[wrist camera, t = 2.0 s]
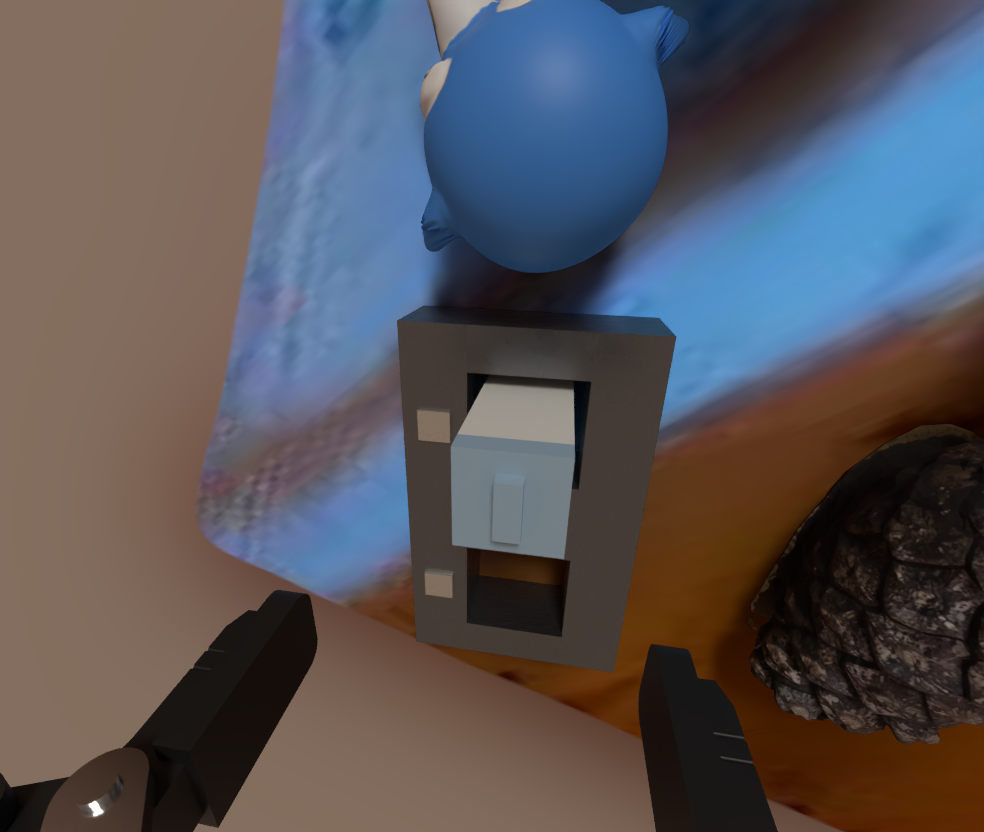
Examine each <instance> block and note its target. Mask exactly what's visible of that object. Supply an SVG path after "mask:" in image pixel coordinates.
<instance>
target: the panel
mask: <svg viewBox="0 0 984 832" xmlns="http://www.w3.org/2000/svg"><path fill="white" fill-rule="evenodd" d="M397 326H398V343H399V359H400V376H401V393H402V409H403V426H404V442H405V459H406V475H407V492H408V508H409V525H410V542H411V558H412V575H413V591H414V608H415V624H416V641H417V642H423V643H430V644H436V645H442V646H449V647H455V648H461V649H468V650H474V651H480V652H487V653H493V654H499V655H506V656H512V657H518V658H525V659H531V660H537V661H544V662H550V663H556V664H563V665H569V666H575V667H582V668H588V669H594V670H601V671H607V672H614V666H615V661H616V656H617V650H618V645H619V640H620V634H621V629H622V624H623V618H624V613H625V608H626V602H627V597H628V592H629V586H630V581H631V576H632V570H633V565H634V560H635V554H636V549H637V544H638V538H639V533H640V528H641V522H642V517H643V512H644V506H645V501H646V496H647V490H648V485H649V480H650V474H651V469H652V464H653V458H654V453H655V448H656V442H657V437H658V432H659V426H660V421H661V416H662V410H663V405H664V400H665V394H666V389H667V384H668V378H669V373H670V368H671V362H672V357H673V352H674V346H675V341H676V336H675V335H674V334H673V333H672V331H671V330H670V329H669V328H668V327H667V326H666V325H665V324H664V323H663V322H662V321H661V320H660V318H649V317H630V316H611V315H592V314H573V313H553V312H534V311H515V310H496V309H477V308H458V307H439V306H422V307H420V308H419V309H417V310H415V311H413V312H412V313H410V314H408V315H406V316H404V317H403V318H401V319H399V320H397ZM482 374H493V375H507V376H521V377H535V378H549V379H563V380H577V381H586V382H585V391H584V400H583V409H582V418H581V427H580V436H579V445H578V452H575V462H574V472H573V481H572V490H571V499H570V508H569V517H568V527H567V536H566V545H565V554H564V559H561V560H566V562H565V571H564V580H563V587H562V586H554V585H547V584H540V583H532V582H525V581H517V580H510V579H502V578H495V577H488V576H480V575H479V554H480V548H472V547H464V546H456V545H452V498H451V445H452V443H453V441H454V439H455V438H456V436H457V434H458V432H459V430H460V428H461V426H462V424H463V423H464V421H465V419H466V417H467V415H468V413H469V411H470V409H471V408H472V406H473V404H474V402H475V400H476V398H477V396H478V395H479V393H480V391H481V389H482ZM482 550H488V549H482ZM490 551H496V550H490ZM498 552H503V551H498ZM505 553H511V552H505ZM513 554H519V553H513ZM521 555H527V554H521ZM529 556H535V555H529ZM537 557H543V556H537ZM545 558H551V557H545ZM553 559H559V558H553Z"/></svg>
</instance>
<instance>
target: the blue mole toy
mask: <svg viewBox="0 0 984 832" xmlns="http://www.w3.org/2000/svg"><path fill="white" fill-rule="evenodd" d="M426 1H427V4H428V8H429V11H430V15H431V19H432V22H433V27H434V31H435V35H436V40H437V44H438V49H439V53H440V56H441V60H442V61H441V62H439V63H437V64H435V65H434V66H432V67H431V68H430V69H429V70H428V72H427V73H426V75H425V78H424V81H423V84H422V89H421V95H420V106H421V111H422V113H423V116H424V118H425V127H424V149H425V157H426V163H427V168H428V172H429V176H430V180H431V183H432V187H433V189H432V193H431V196H430V198H429V201H428V203H427V206H426V209H425V212H424V215H423V217H422V221H421V223H422V224H423V225H422V227H421V228H422V230H423V236H424V242H425V246H426V248H427V249H428V250H429V251H433V252H434V251H439V250H440V249H441V248H443V247H444V246H445V245H447V244H448V243H450V242H451V241H452V240H454V239H455V238H457V237H463V238H464V239H465V240H466V241H467V242H468V243H469V244H470V245H471V246H472V247H474V248H475V249H476V250H477V251H478V252H480V253H481V254H482V255H484V256H485V257H487V258H488V259H490V260H491V261H493V262H495V263H497V264H499V265H501V266H504V267H506V268H509V269H512V270H516V271H520V272H527V273H545V272H552V271H557V270H561V269H565V268H568V267H571V266H573V265H576V264H578V263H580V262H583V261H585V260H587V259H588V258H590V257H592V256H594V255H595V254H597V253H599V252H600V251H602V250H603V249H604V248H606V247H607V246H608V245H610V244H611V243H612V242H613V241H615V240H616V239H617V238H618V237H619V236H620V235H621V234H622V233H623V232H624V231H625V230H626V229H627V228H628V227H629V226H630V225H631V224H632V223H633V221H634V220H635V219H636V218H637V216H638V215H639V214H640V212H641V211H642V210H643V208H644V207H645V205H646V204H647V202H648V200H649V199H650V197H651V195H652V193H653V191H654V189H655V187H656V185H657V182H658V180H659V177H660V174H661V171H662V168H663V164H664V160H665V156H666V149H667V140H668V117H667V108H666V101H665V96H664V91H663V87H662V84H661V80H660V77H659V73H658V71H659V68H660V67H661V65H662V64H663V62H664V61H665V60H666V59H667V58H669V57H670V56H671V55H672V54H673V53H674V52H675V51H676V50H677V49H678V48H679V47H680V46H681V45H682V44H683V43H684V41H685V39H686V38H687V35H688V33H689V24H688V22H687V20H686V19H684V18H683V17H680V16H679V15H675V14H673V10H672V7H667V8H665V5H663V6H656V7H654V8H649V9H644V10H641V11H637V12H634V13H630V14H619V13H617V12H616V11H615V10H614V9H612V8H611V7H610V6H608V5H607V4H605V3H604V2H602V1H600V0H501V1H500V3H498V2H497V1H495V0H426Z"/></svg>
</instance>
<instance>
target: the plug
mask: <svg viewBox="0 0 984 832" xmlns="http://www.w3.org/2000/svg"><path fill="white" fill-rule="evenodd" d="M574 462H575V432H574V380H563V379H549V378H535V377H521V376H507V375H493V374H489V376H488V378H487V380H486V381H485V383H484V385H483V387H482V389H481V391H480V393H479V395H478V396H477V398H476V400H475V402H474V404H473V406H472V408H471V409H470V411H469V413H468V415H467V417H466V419H465V421H464V423H463V424H462V426H461V428H460V430H459V432H458V434H457V436H456V438H455V439H454V441H453V443H452V445H451V498H452V545H456V546H464V547H472V548H480V549H488V550H496V551H503V552H511V553H519V554H527V555H535V556H543V557H551V558H559V559H564V554H565V545H566V536H567V527H568V517H569V508H570V499H571V490H572V481H573V472H574Z"/></svg>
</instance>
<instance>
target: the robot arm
mask: <svg viewBox="0 0 984 832" xmlns="http://www.w3.org/2000/svg"><path fill="white" fill-rule="evenodd" d="M316 649H317V633H316V627H315V621H314V616H313V610H312V604H311V599H310V596H309V595H308V594H304V593H297V592H290V591H283V590H276V591H274V592H273V593H272V594H271V595H270V596H269V597H268V598H267V599H266V601H265V602H264V603H263V604H262V606H261V607H260V608H259V609H258V611H251V610H248V611H247V612H245V613H244V614H243V615H241V616H240V617H238V618H237V619H236V620H234V621H233V622H232V623H230V624H229V625H227V626H226V627H225V628H224V630H223V631H222V632H221V633H220V634H219V636H218V637H217V638H216V639H215V641H213V643H212V644H211V645H210V646H209V649H208V651H205V652H204V653H203V655H202V656H201V657H200V658H199V659H198V661H197V662H196V663H195V665H194V668H193V669H190V670H189V671H188V672H187V674H186V675H185V676H184V677H183V678H182V680H181V681H180V682H179V683H178V684H177V686H176V687H175V688H174V689H173V690H172V692H171V693H170V694H169V695H168V696H167V698H166V699H165V700H164V701H163V702H162V703H161V705H160V706H159V707H158V708H157V709H156V711H155V712H154V713H153V714H152V715H151V717H150V718H149V719H148V720H147V721H146V723H145V724H144V725H143V726H142V727H141V728H140V730H139V731H138V732H137V733H136V734H135V736H134V737H133V738H132V739H131V740H130V741H129V742H128V743H127V744H126V745H125V746H124V747H123V748H119V749H115V750H112V751H109V752H106V753H104V754H102V755H100V756H98V757H96V758H94V759H93V760H91V761H89V762H88V763H86V764H85V765H83V766H82V767H81V768H80V769H78V770H77V771H76V772H75V773H74V774H73V775H71V776H70V777H66V778H61V779H55V780H50V781H45V782H39V783H34V784H28V785H22V786H17V787H10V786H9V784H8V783H7V781H6V780H5V778H4V777H3V775H2V774H1V773H0V832H193V831H194V829H195V827H196V826H197V824H198V823H199V824H204V825H208V826H213V827H217V828H218V827H219V826H220V824H221V822H222V820H223V819H224V817H225V815H226V813H227V812H228V810H229V808H230V806H231V805H232V803H233V801H234V799H235V798H236V796H237V794H238V792H239V791H240V789H241V787H242V785H243V784H244V782H245V780H246V778H247V777H248V775H249V773H250V771H251V770H252V768H253V766H254V765H255V763H256V761H257V759H258V758H259V756H260V754H261V752H262V751H263V749H264V747H265V745H266V744H267V742H268V740H269V738H270V737H271V735H272V733H273V731H274V730H275V728H276V726H277V724H278V723H279V721H280V719H281V717H282V715H283V714H284V712H285V710H286V708H287V707H288V705H289V703H290V702H291V700H292V698H293V696H294V695H295V693H296V691H297V689H298V687H299V686H300V684H301V682H302V681H303V679H304V677H305V675H306V674H307V672H308V670H309V668H310V667H311V665H312V662H313V660H314V657H315V654H316ZM639 721H640V728H641V735H642V741H643V748H644V754H645V760H646V768H647V774H648V781H649V788H650V794H651V801H652V808H653V814H654V821H655V828H656V832H778V831H777V828H776V825H775V823H774V820H773V817H772V814H771V811H770V808H769V805H768V802H767V799H766V797H765V794H764V791H763V788H762V785H761V782H760V779H759V777H758V774H757V771H756V768H755V766H753V763H752V760H753V759H752V757H751V754H750V751H749V748H748V745H747V742H746V741H745V740H744V734H743V731H742V728H741V725H740V722H739V719H738V717H737V714H736V711H735V708H734V706H733V705H732V703H731V702H730V701H729V699H728V698H727V696H726V695H725V694H724V692H723V691H722V690H721V688H720V687H719V686H718V684H717V683H716V681H712V680H706V679H699V678H697V674H696V671H695V667H694V664H693V661H692V657H691V655H690V652H689V651H688V650H687V649H683V648H676V647H669V646H662V645H655V644H651V646H650V648H649V651H648V656H647V660H646V664H645V669H644V673H643V677H642V681H641V686H640V690H639Z"/></svg>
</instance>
